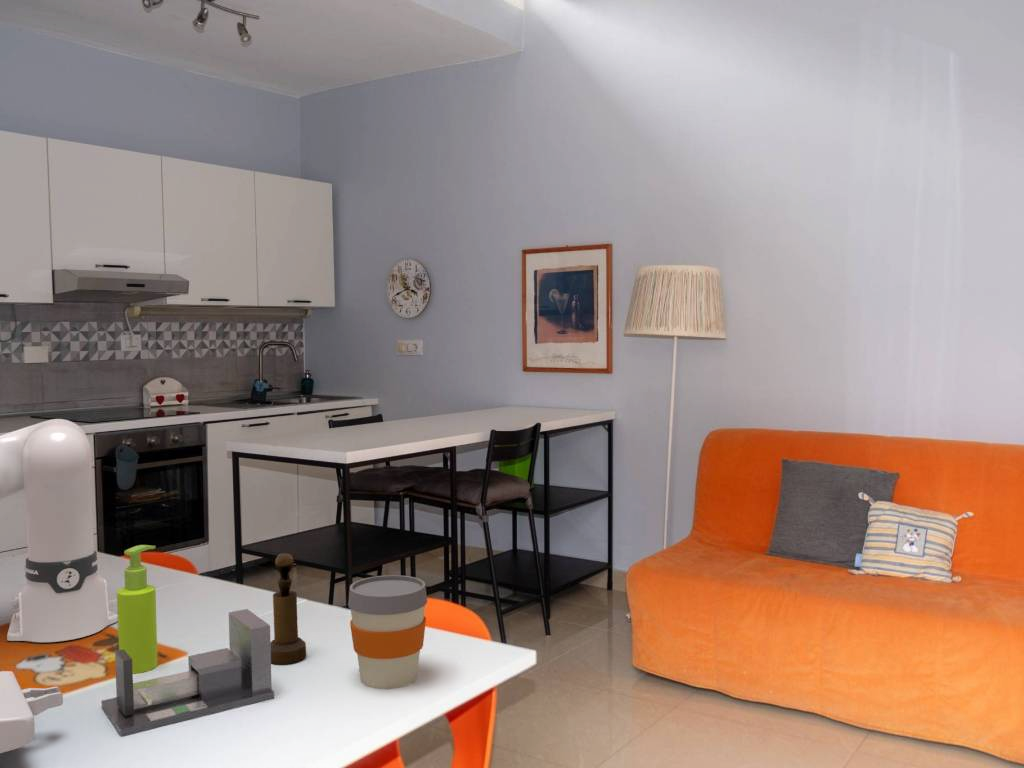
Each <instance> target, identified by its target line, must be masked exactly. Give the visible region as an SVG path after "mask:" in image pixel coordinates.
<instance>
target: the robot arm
mask: <svg viewBox="0 0 1024 768" xmlns="http://www.w3.org/2000/svg"><path fill="white" fill-rule="evenodd" d="M92 460H93V459H92V448H91V444H90V441H89V439H88V436H87V434H86V432H85V431H84V430H83V428H81V427H80V426H79V425H78V424H76V423H75V422H73V421H71V420H69V419H63V418H54V419H48V420H45V421H41V422H37V423H36V424H32V425H28V426H26V427H25V426H24V427H23V428H20V429H16V430H14V431H10V432H7V433H5V434H2V435H0V502H1V501H3V500H6V499H8V498H10V497H13V496H15V495H17V494H19V493H22V492H24V501H25V502H24V503H25V517H26V535H27V536H26V541H27V543H26V544H27V558H26V559H25V565H24V571H25V579H26V581H25V583H24V584H23V587H22V588H21V589H20V590H21V591H20V592H19V593H18V595H13V596H12V599H11V600H12V601H11V602H12V603H11V604H12V609H13V610H17V609H18V611H16V612H15V613H14V612H13V614H12V616H11V620H10V623H9V626H8V627H9V628H8V631H7V635H6V641H9V642H21V641H22V642H23V641H24V642H31V643H56V642H65V641H70V640H71V641H72V640H76V639H77V640H78V639H80V638H85V637H87V636H88V637H89V636H90V635H94V634H96V633H98V632H100V631H102V630H104V629H105V628H106V627H108V626H110V625H112V624H115V623H118V614H116V613H114V612H112V611H110V609H109V596H108V595H109V594H108V584H107V580H106V579H104V578H103V576H100V575H99V574H98V573H97V571H98V569H99V568H98V563H99V559H98V554H97V551H96V550H95V539H94V538H95V537H94V536H95V535H94V533H95V532H94V513H93V511H94V509H93V508H94V506H93V504H94V503H93V502H94V501H93V464H92ZM63 702H64V695H63V693H62V692H61V690H60V688H59V687H58V686H52V687H47V688H42V687H41V688H40V687H39V688H38V687H37V688H36V687H28V688H24V689H22V688H21V686H20V684H19V683H18V680H17V678H16V676H15V673H14V672H13V671H11V670H9V671H8V670H1V671H0V754H3V753H7V752H10V751H13V750H16V749H20V748H23V747H25V746H27V745H29V744H30V743H32V742H33V741H34V740H35V738H36V737H35V736H36V732H35V729H36V728H35V716H37V715H40V714H41V713H43V712H45V711H47V710H49V709H53V708H56V707H57V708H58V707H60V706H62V705H63V704H64V703H63Z"/></svg>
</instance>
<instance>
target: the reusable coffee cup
mask: <svg viewBox="0 0 1024 768" xmlns="http://www.w3.org/2000/svg"><path fill="white" fill-rule="evenodd" d="M427 603H428V598H427V587H426V582H425V581H424V580H422V579H420V578H418V577H414V576H410V575H409V576H408V575H398V574H396V575H393V574H392V575H391V574H389V575H377V576H371V577H370V576H369V577H365V578H362V579H359V580H357V581H354V582H353V583H351V584H350V585H349V590H348V602H347V606H348V608H349V609H350V614H351V620H350V622H349V624H350V626H349V627H350V633H351V638H352V646H353V650H354V653H356V655H357V662H358V668H359V675H360V680H361V683H362V684H363V685H365V686H367V687H371V688H375V689H396V688H400V687H404V686H407V685H409V684H412V683H413V682H415V680H417V677H418V672H419V662H420V655H421V654H420V653H421V650H422V649H423V647H424V641H425V632H426V623H427V618H426V616H425V608H426V605H427Z"/></svg>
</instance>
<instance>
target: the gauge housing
mask: <svg viewBox="0 0 1024 768" xmlns="http://www.w3.org/2000/svg"><path fill="white" fill-rule="evenodd" d="M228 634H229V635H228V637H229V638H228V641H229V648H228V647H226V648H225V647H224V648H221V649H217V650H211V651H207V652H206V651H205V652H202V653H197V654H193V655H188V657H187V658H188V661H187V662H188V671H191V670H196V671H197V672H198V673H199V694H198V695H193V696H189V697H185V698H181V699H176V700H172V701H168V702H164V703H159V704H155V705H151V706H147V707H142V708H138V709H134V714H132V715H127V716H125V715H124V714H123V712H122V711H121V709H120V708H119V707H118V705H117V696H116V697H111V698H107V699H103V700H101V708H102V710H103V711H104V713H105V714H106V716H107V718H108V719H109V721H110V722H111V724H112V725H113V727H114V729H115V730H116V731H117V733H118V734H119V736H120V737H125V736H128V735H132V734H136V733H140V732H144V731H147V730H153V729H157V728H161V727H164V726H168V725H172V724H177V723H180V722H184V721H188V720H192V719H196V718H200V717H204V716H208V715H213V714H217V713H220V712H224V711H229V710H232V709H236V708H241V707H244V706H247V705H252V704H255V703H261V702H264V701H269V700H273V699H275V691H274V690H273V689H272V687H273V686H272V663H271V625H270V624H269V623H268V622H267V621H264V619H262V618H260V617H259V616H258V615H256V614H255V613H253V612H252V611H251V610H249V608H246V609H239V610H236V611H235V610H234V611H229V612H228Z"/></svg>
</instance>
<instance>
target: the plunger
mask: <svg viewBox="0 0 1024 768" xmlns="http://www.w3.org/2000/svg"><path fill="white" fill-rule="evenodd" d="M114 658H115V660H114V662H115V664H114V665H115V684H116V685H115V689H116V691H115V693H116V697H117V705H118V707H119V708H120V709H121V711H122V712H123V714H124V715H125V716H127V715H132V714H134V709H138V708H142V707H147V706H151V705H155V704H159V703H164V702H168V701H172V700H176V699H181V698H185V697H189V696H193V695H198V694H199V673H198V672H197V671H196V670H191V671H189V670H187V671H184V672H178V673H174V674H171V675H170V674H169V675H164V676H162V677H161V676H160V677H156V678H151V679H147V680H143V681H139V682H134V678H133V676H134V673H133V669H132V658H131V657H130V656H129V655H128V654H127V652H126V651H125V650H124V649H122V650H119V649H118V650H117V649H116V650H114Z"/></svg>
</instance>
